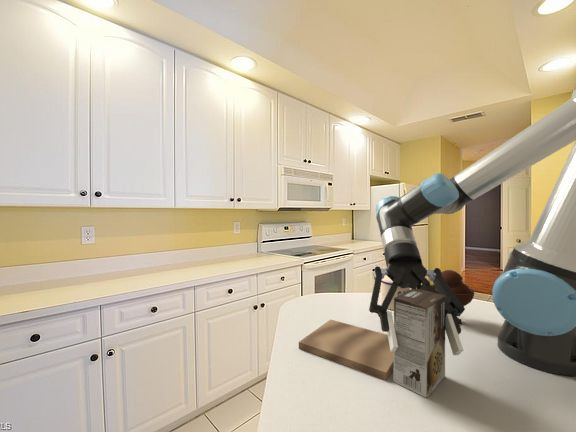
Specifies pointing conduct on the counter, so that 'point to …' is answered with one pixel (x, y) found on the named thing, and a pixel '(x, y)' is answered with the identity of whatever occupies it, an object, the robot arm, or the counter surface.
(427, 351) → the coffee box
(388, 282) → the teacup with lid
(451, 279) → the ice cream bowl
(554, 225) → the robot arm
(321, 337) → the walnut board
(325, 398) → the counter surface
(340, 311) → the counter surface
